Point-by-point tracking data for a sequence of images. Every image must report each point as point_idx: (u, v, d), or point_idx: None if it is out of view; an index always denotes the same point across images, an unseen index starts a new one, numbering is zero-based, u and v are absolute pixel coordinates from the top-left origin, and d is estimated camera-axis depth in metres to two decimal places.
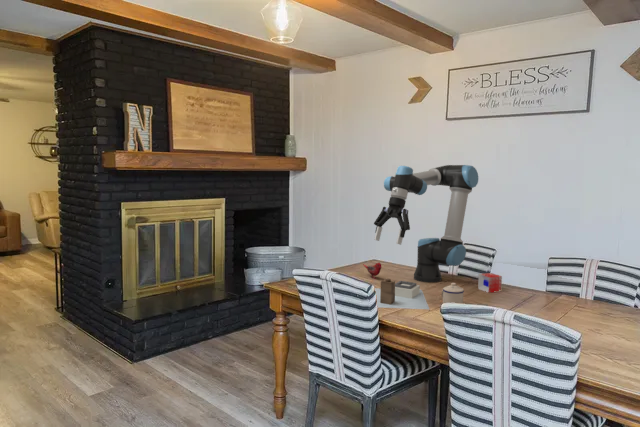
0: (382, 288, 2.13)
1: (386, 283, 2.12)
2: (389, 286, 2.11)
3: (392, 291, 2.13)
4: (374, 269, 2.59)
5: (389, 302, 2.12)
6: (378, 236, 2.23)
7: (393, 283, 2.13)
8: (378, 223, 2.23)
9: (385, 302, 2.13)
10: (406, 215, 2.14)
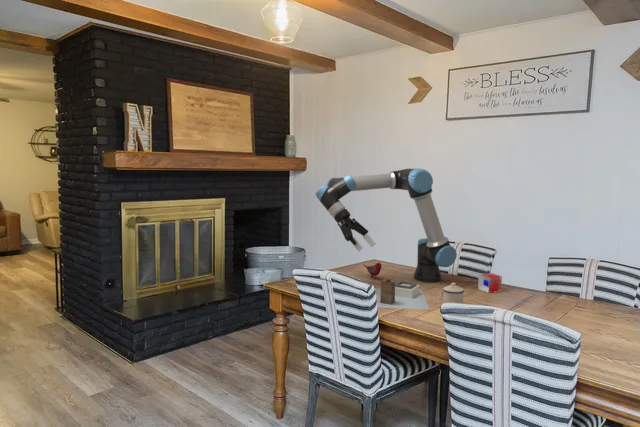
0: (382, 288, 2.13)
1: (386, 283, 2.12)
2: (389, 286, 2.11)
3: (392, 291, 2.13)
4: (374, 269, 2.59)
5: (389, 302, 2.12)
6: (370, 242, 2.24)
7: (393, 283, 2.13)
8: None
9: (385, 302, 2.13)
10: (342, 227, 2.15)
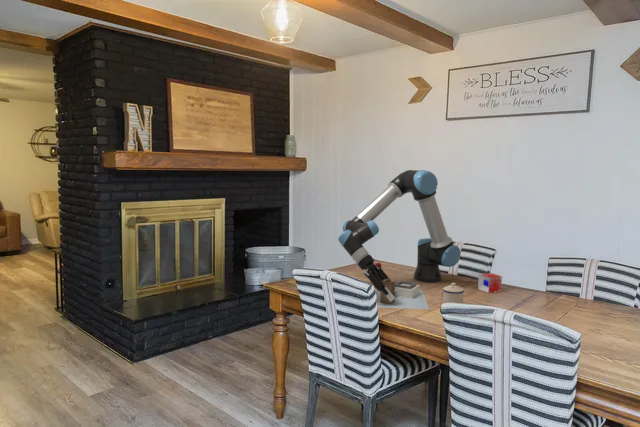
0: None
1: (386, 283, 2.12)
2: (389, 286, 2.11)
3: (392, 291, 2.13)
4: None
5: (389, 302, 2.12)
6: None
7: (393, 283, 2.13)
8: None
9: (385, 302, 2.13)
10: (370, 277, 2.12)
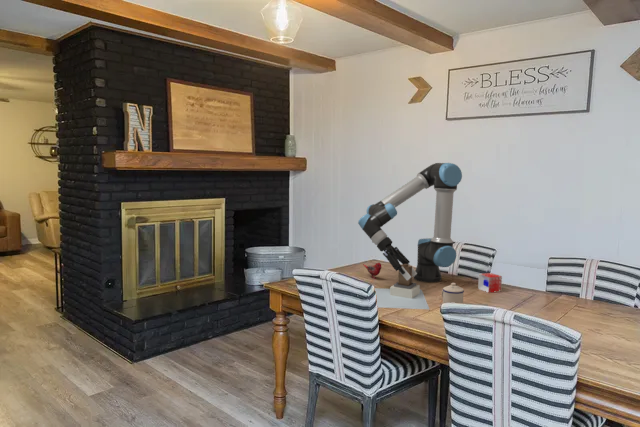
0: None
1: (404, 268, 2.25)
2: (407, 270, 2.25)
3: None
4: (374, 269, 2.59)
5: (407, 285, 2.25)
6: (412, 272, 2.30)
7: (410, 268, 2.27)
8: (403, 263, 2.33)
9: None
10: (388, 257, 2.25)
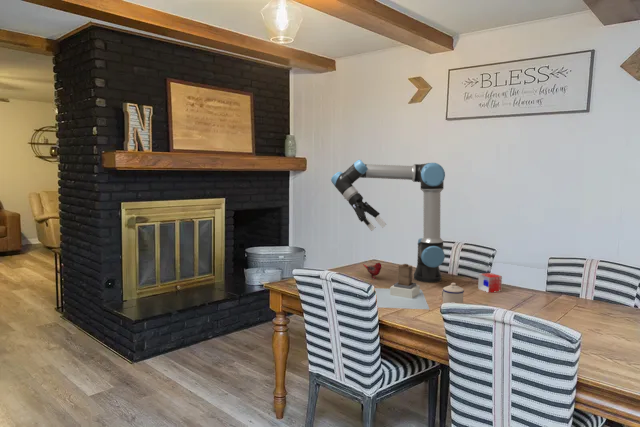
0: (400, 272, 2.27)
1: (404, 268, 2.25)
2: (407, 270, 2.25)
3: (409, 275, 2.26)
4: (374, 269, 2.59)
5: (407, 285, 2.25)
6: (381, 223, 2.45)
7: (410, 268, 2.27)
8: None
9: None
10: (356, 209, 2.37)
